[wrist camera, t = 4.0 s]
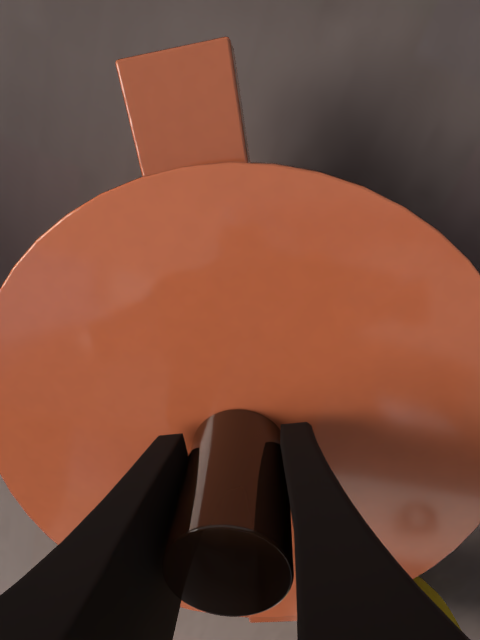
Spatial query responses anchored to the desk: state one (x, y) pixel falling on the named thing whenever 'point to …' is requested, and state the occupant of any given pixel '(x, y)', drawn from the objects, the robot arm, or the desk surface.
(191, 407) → the pot lid
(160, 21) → the desk surface
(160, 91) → the pot
